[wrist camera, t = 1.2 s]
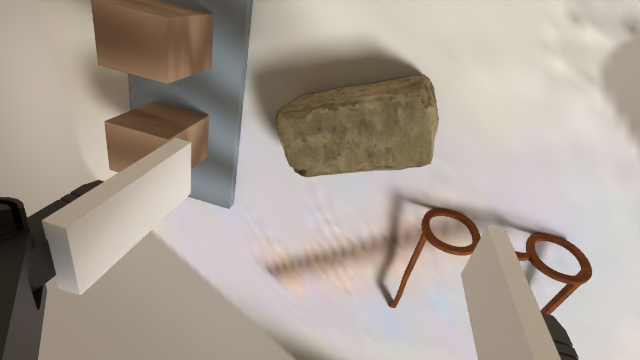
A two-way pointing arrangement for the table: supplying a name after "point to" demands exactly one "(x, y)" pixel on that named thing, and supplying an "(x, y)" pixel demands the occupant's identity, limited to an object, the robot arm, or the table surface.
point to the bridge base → (178, 83)
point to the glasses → (531, 255)
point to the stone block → (360, 128)
